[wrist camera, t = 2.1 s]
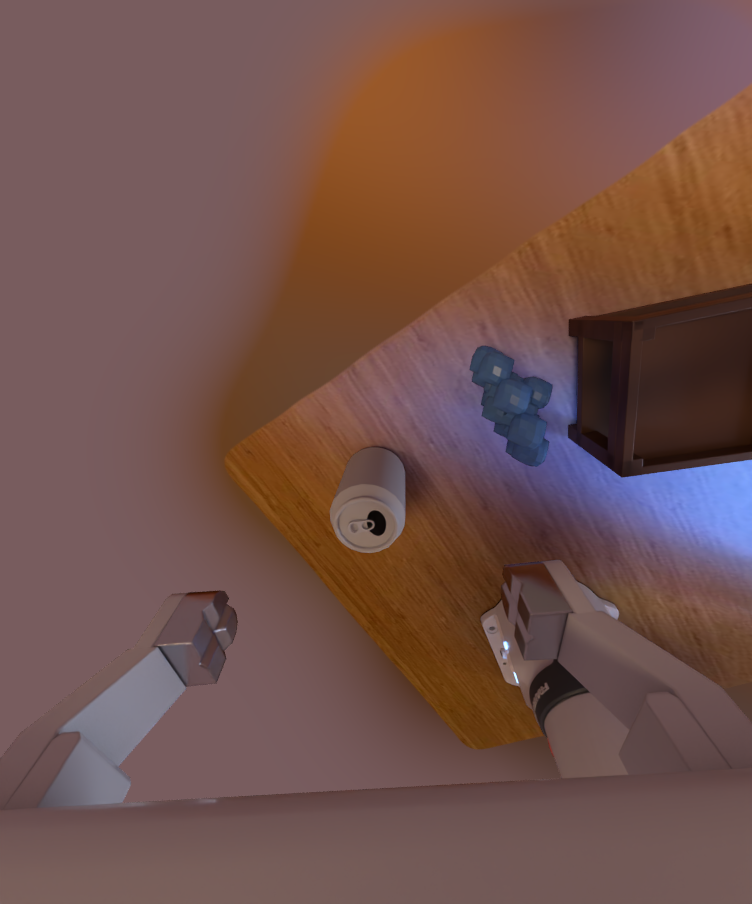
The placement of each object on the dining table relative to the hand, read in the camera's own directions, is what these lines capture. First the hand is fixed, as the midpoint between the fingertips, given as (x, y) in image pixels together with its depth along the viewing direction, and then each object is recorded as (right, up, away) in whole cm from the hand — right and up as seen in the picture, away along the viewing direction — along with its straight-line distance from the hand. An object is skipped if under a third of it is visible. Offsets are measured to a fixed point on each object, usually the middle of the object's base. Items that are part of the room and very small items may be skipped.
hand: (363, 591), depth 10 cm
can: (0, +2, +32) cm, 32 cm away
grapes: (+14, +11, +27) cm, 33 cm away
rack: (+32, +13, +24) cm, 42 cm away
